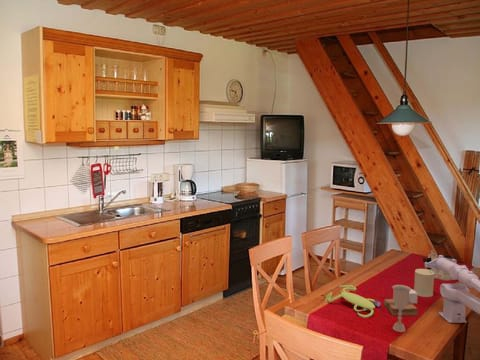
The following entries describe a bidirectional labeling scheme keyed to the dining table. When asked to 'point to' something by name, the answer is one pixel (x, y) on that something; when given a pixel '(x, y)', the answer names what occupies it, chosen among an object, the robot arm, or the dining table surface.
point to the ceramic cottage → (438, 273)
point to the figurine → (355, 300)
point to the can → (424, 282)
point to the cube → (413, 296)
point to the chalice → (400, 303)
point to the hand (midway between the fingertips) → (431, 258)
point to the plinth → (391, 306)
